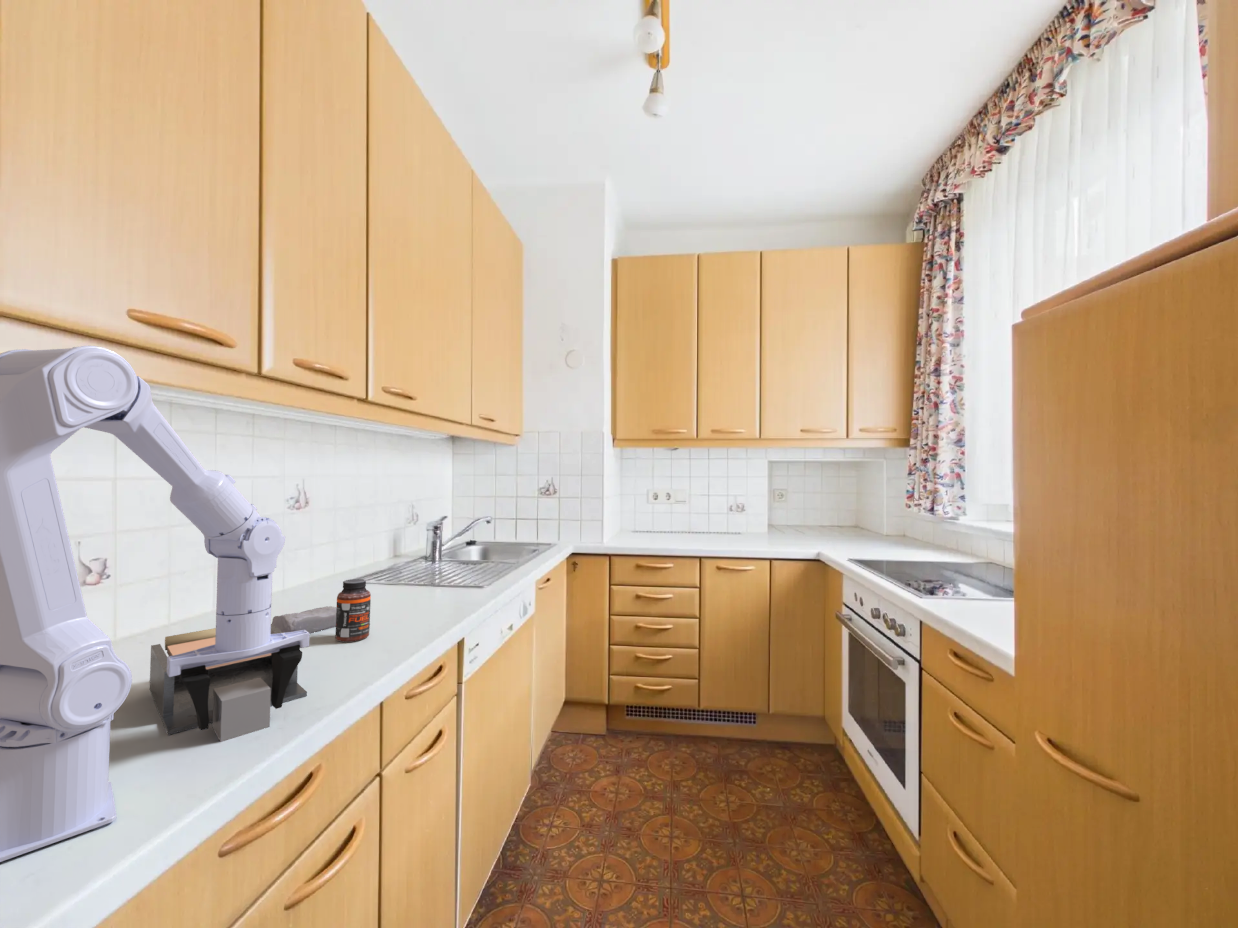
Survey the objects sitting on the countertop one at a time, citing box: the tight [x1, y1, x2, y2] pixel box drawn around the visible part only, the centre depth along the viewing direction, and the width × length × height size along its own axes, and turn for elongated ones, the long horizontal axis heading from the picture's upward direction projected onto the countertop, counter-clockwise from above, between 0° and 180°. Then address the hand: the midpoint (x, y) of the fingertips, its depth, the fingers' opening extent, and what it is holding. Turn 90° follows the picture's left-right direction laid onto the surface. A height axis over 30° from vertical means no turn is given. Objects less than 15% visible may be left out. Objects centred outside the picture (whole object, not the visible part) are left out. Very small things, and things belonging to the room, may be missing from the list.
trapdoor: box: [164, 627, 271, 669], centre depth 76 cm, size 12×15×2 cm
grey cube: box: [211, 678, 271, 743], centre depth 64 cm, size 5×5×5 cm
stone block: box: [271, 605, 337, 635], centre depth 105 cm, size 12×5×10 cm
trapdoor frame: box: [149, 623, 308, 736], centre depth 74 cm, size 15×19×6 cm
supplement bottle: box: [335, 578, 372, 643], centre depth 99 cm, size 6×6×11 cm
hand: (241, 715), depth 64 cm, fingers open, 7 cm apart
